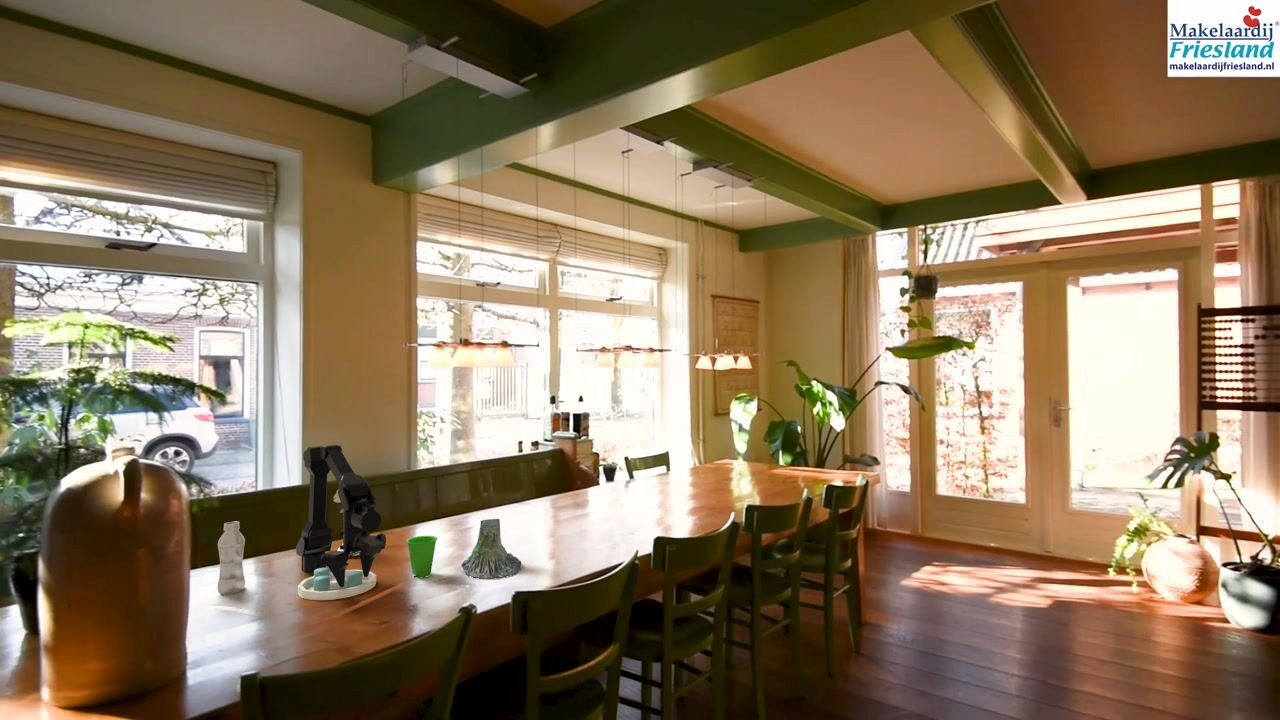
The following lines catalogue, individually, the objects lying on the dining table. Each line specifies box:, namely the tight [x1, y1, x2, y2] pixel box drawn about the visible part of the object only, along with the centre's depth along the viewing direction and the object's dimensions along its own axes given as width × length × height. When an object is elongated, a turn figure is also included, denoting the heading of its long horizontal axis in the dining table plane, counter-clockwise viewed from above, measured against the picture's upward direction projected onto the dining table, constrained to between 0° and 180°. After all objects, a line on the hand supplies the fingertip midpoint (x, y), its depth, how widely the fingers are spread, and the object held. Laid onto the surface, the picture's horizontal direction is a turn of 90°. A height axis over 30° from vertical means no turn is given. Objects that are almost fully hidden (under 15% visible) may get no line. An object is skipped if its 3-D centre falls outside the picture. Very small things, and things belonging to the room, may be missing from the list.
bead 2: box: [347, 571, 362, 588], centre depth 180 cm, size 4×4×4 cm
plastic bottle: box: [217, 520, 246, 596], centre depth 179 cm, size 6×7×20 cm
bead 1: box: [314, 576, 330, 591], centre depth 176 cm, size 4×4×4 cm
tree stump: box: [460, 518, 522, 580], centre depth 202 cm, size 18×20×18 cm
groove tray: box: [297, 568, 377, 601], centre depth 181 cm, size 20×20×3 cm
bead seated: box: [313, 567, 331, 578], centre depth 183 cm, size 4×4×4 cm
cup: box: [405, 535, 438, 579], centre depth 195 cm, size 9×9×11 cm
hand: (354, 581), depth 180 cm, fingers open, 9 cm apart
